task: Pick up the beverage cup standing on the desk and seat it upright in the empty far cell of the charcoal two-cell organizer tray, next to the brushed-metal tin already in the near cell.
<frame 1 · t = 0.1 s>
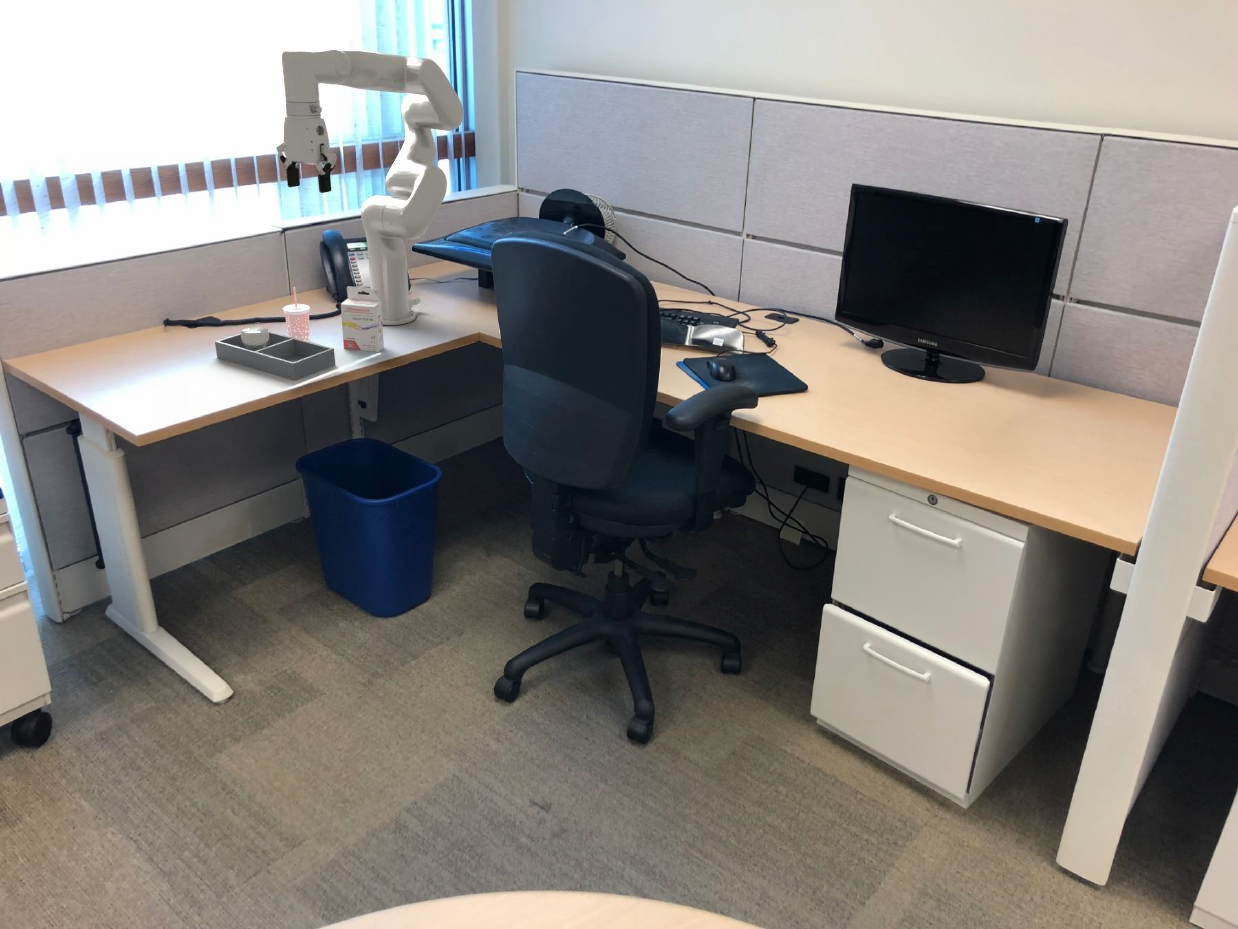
hand: (309, 189, 226), 37 cm above the table, tool pointing down, fingers open, 9 cm apart
ink cartridge box: (364, 350, 239), on the table
organizer tray: (276, 363, 228), on the table
metal tin: (257, 355, 230), point 1 cm above the table, touching organizer tray
beverage cup: (300, 344, 241), on the table
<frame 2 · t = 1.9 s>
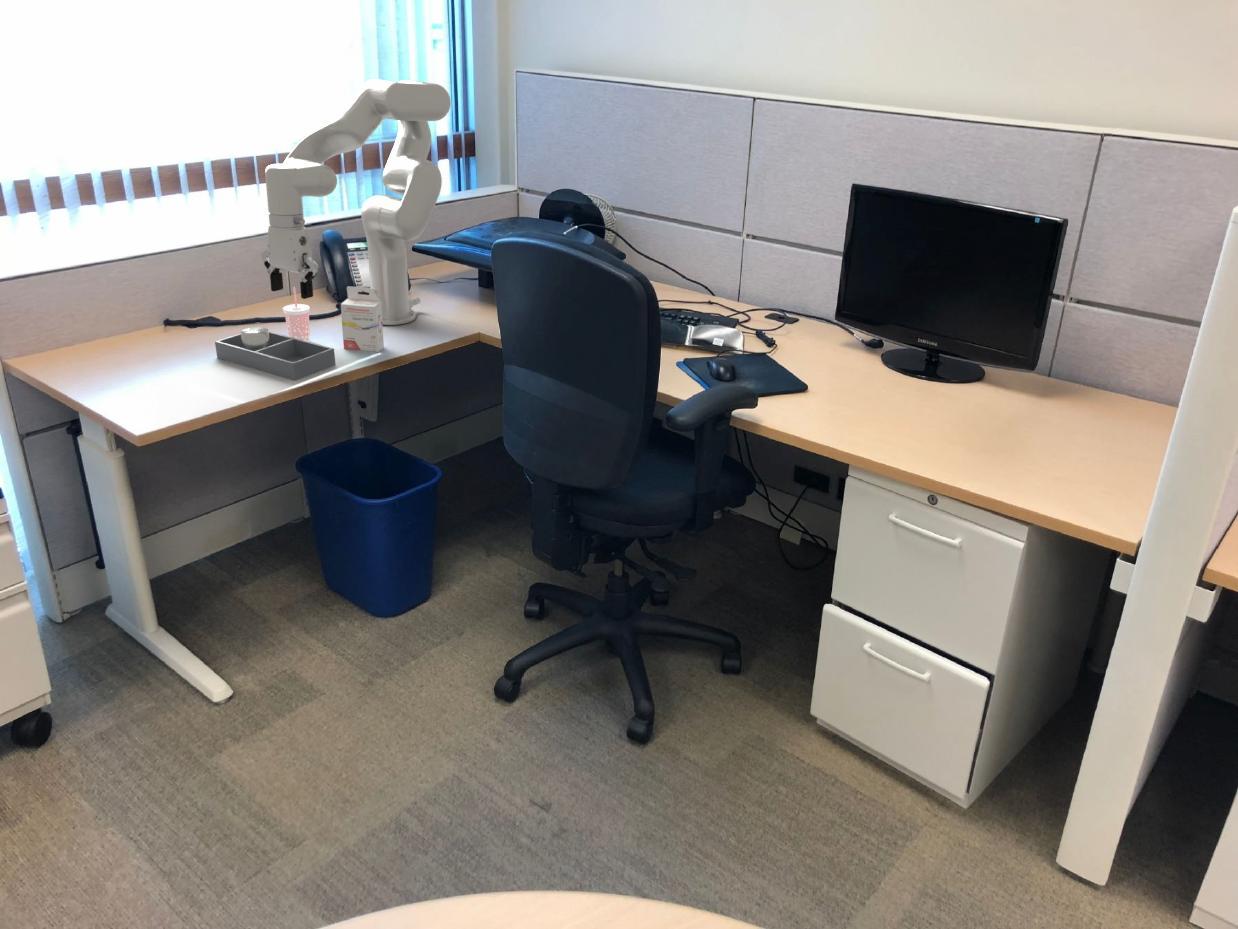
hand: (292, 293, 235), 12 cm above the table, tool pointing down, fingers open, 9 cm apart
nothing on the table moved.
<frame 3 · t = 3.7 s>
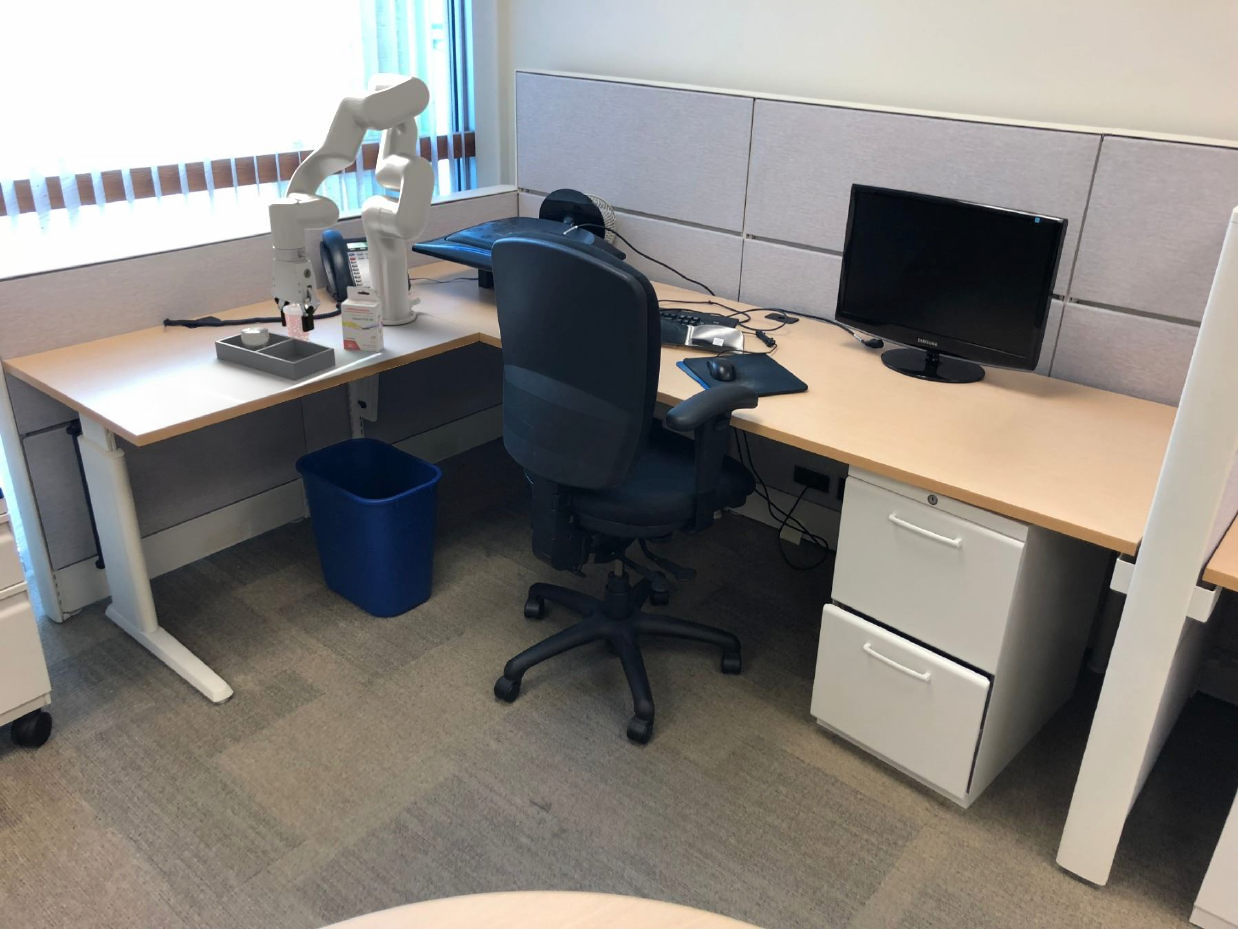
hand: (298, 327, 239), 4 cm above the table, tool pointing down, fingers closed on beverage cup, 6 cm apart
beverage cup: (299, 344, 241), on the table, touching gripper
everything else where it was.
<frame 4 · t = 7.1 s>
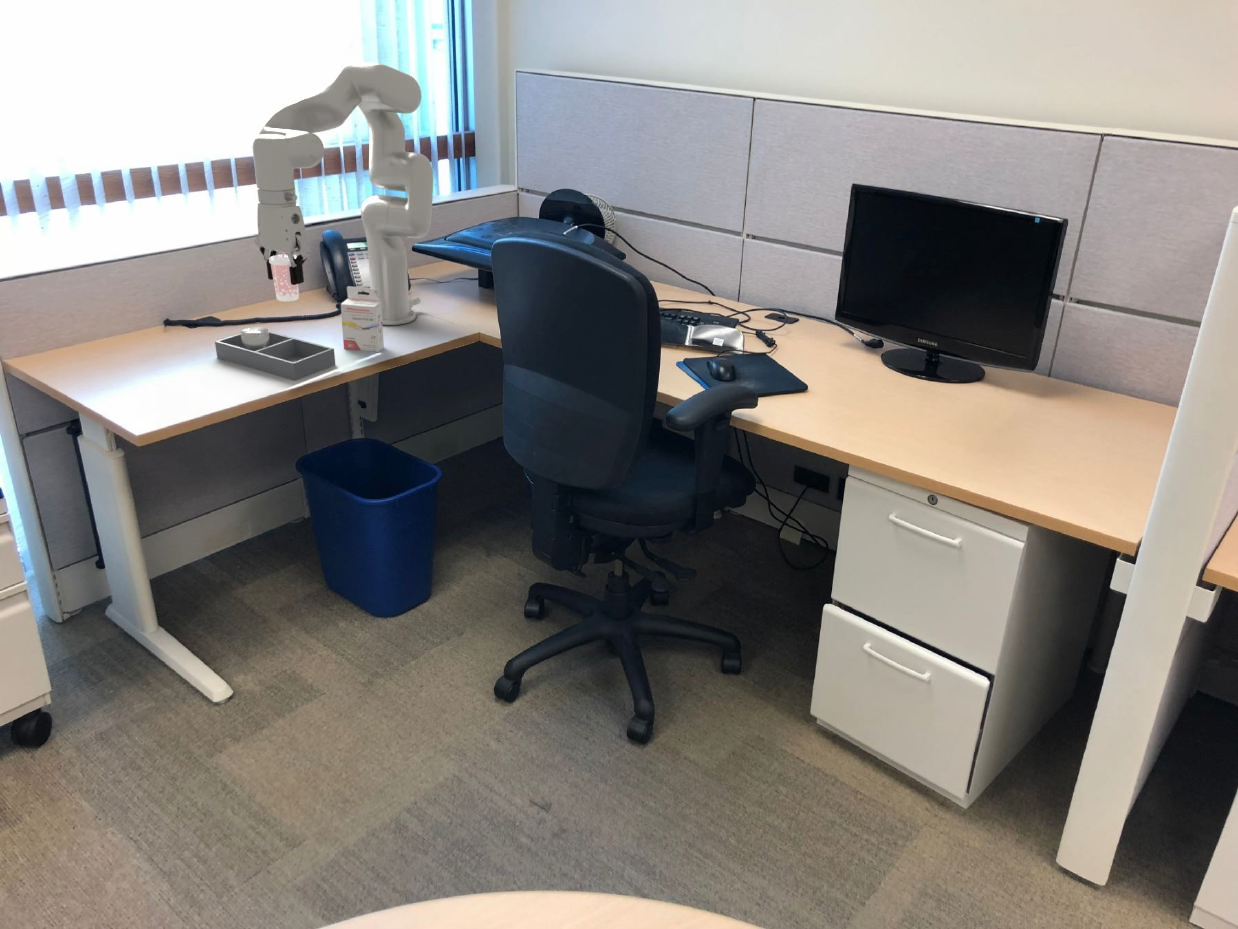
hand: (286, 280, 217), 21 cm above the table, tool pointing down, fingers closed on beverage cup, 6 cm apart
beverage cup: (287, 299, 218), point 16 cm above the table, touching gripper
everything else where it was.
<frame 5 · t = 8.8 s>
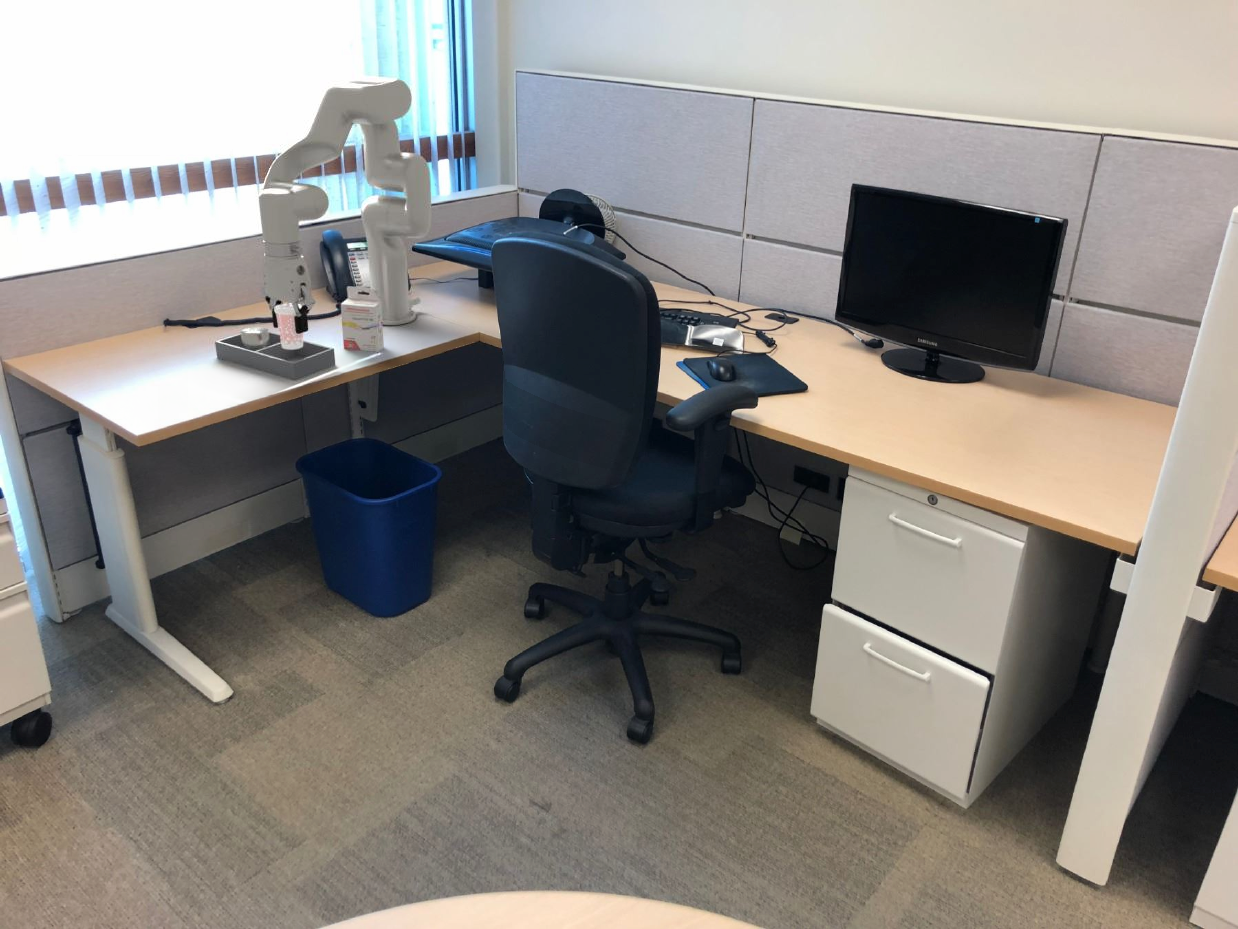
hand: (290, 328, 221), 10 cm above the table, tool pointing down, fingers closed on beverage cup, 6 cm apart
beverage cup: (292, 347, 223), point 5 cm above the table, touching gripper
everything else where it was.
when the fingers open (6 cm above the table, at t = 10.5 s): beverage cup drops 1 cm, resting on organizer tray.
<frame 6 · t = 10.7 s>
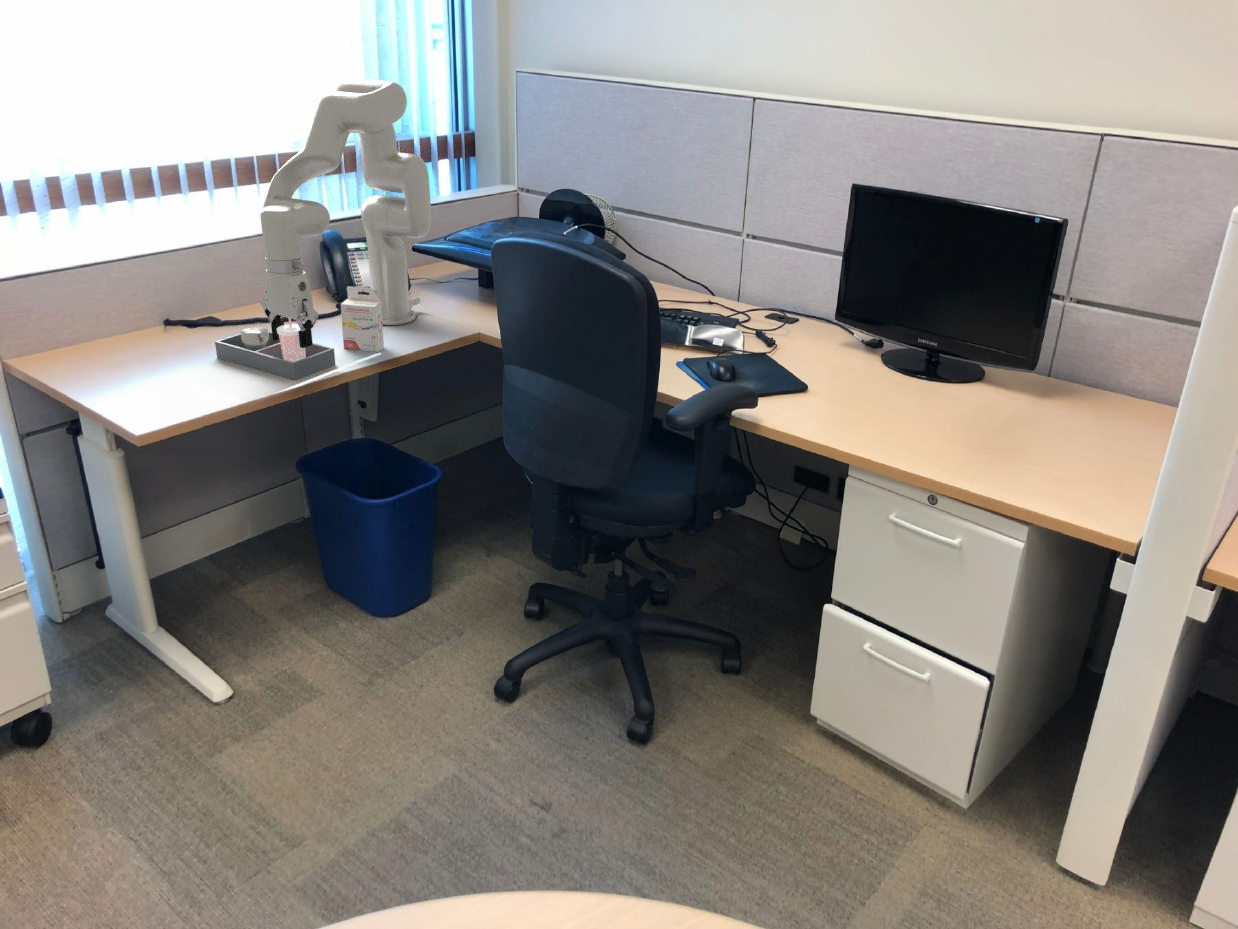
hand: (292, 342, 223), 6 cm above the table, tool pointing down, fingers open, 7 cm apart
beverage cup: (295, 367, 225), resting on organizer tray
everything else where it was.
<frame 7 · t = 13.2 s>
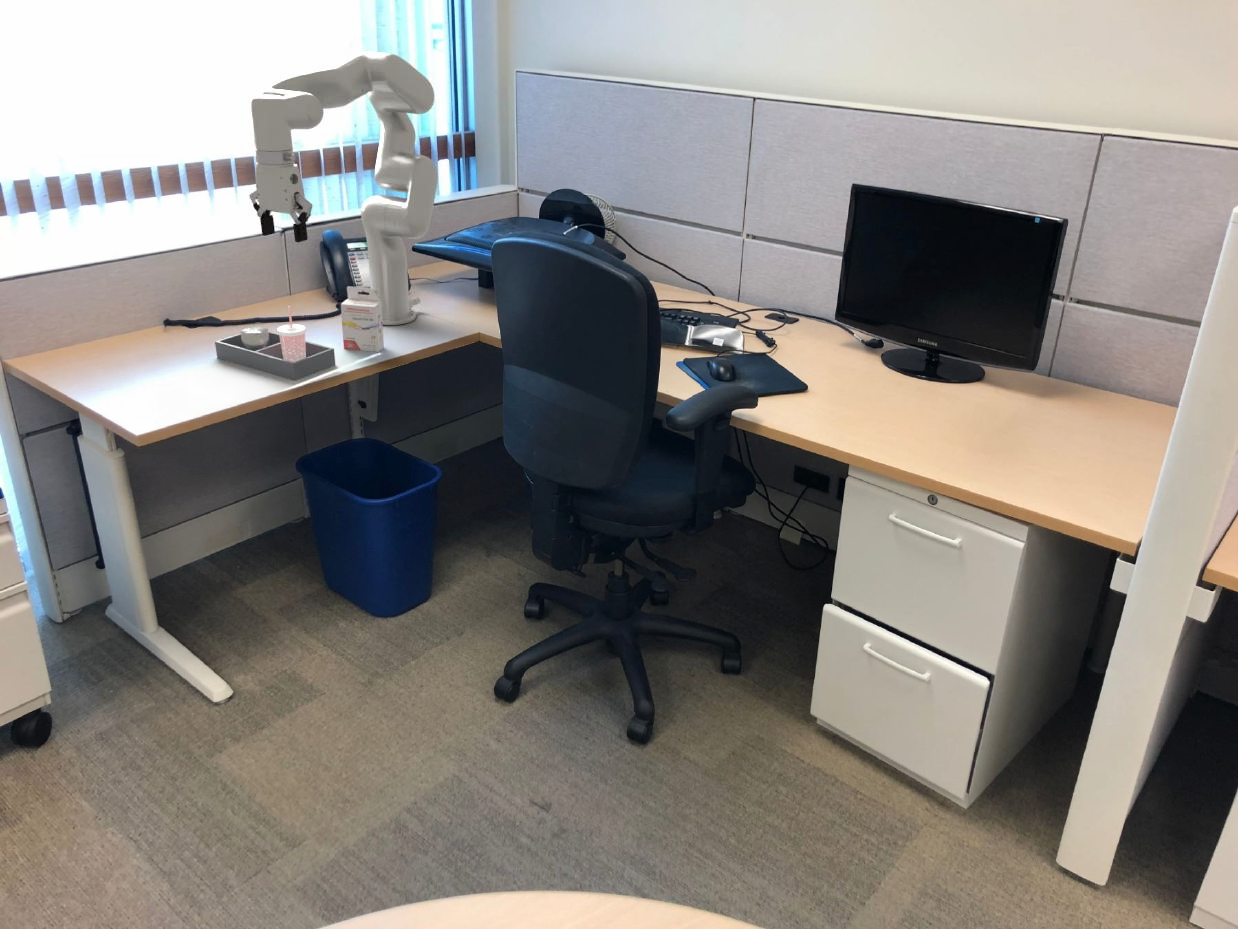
hand: (285, 237, 219), 28 cm above the table, tool pointing down, fingers open, 9 cm apart
nothing on the table moved.
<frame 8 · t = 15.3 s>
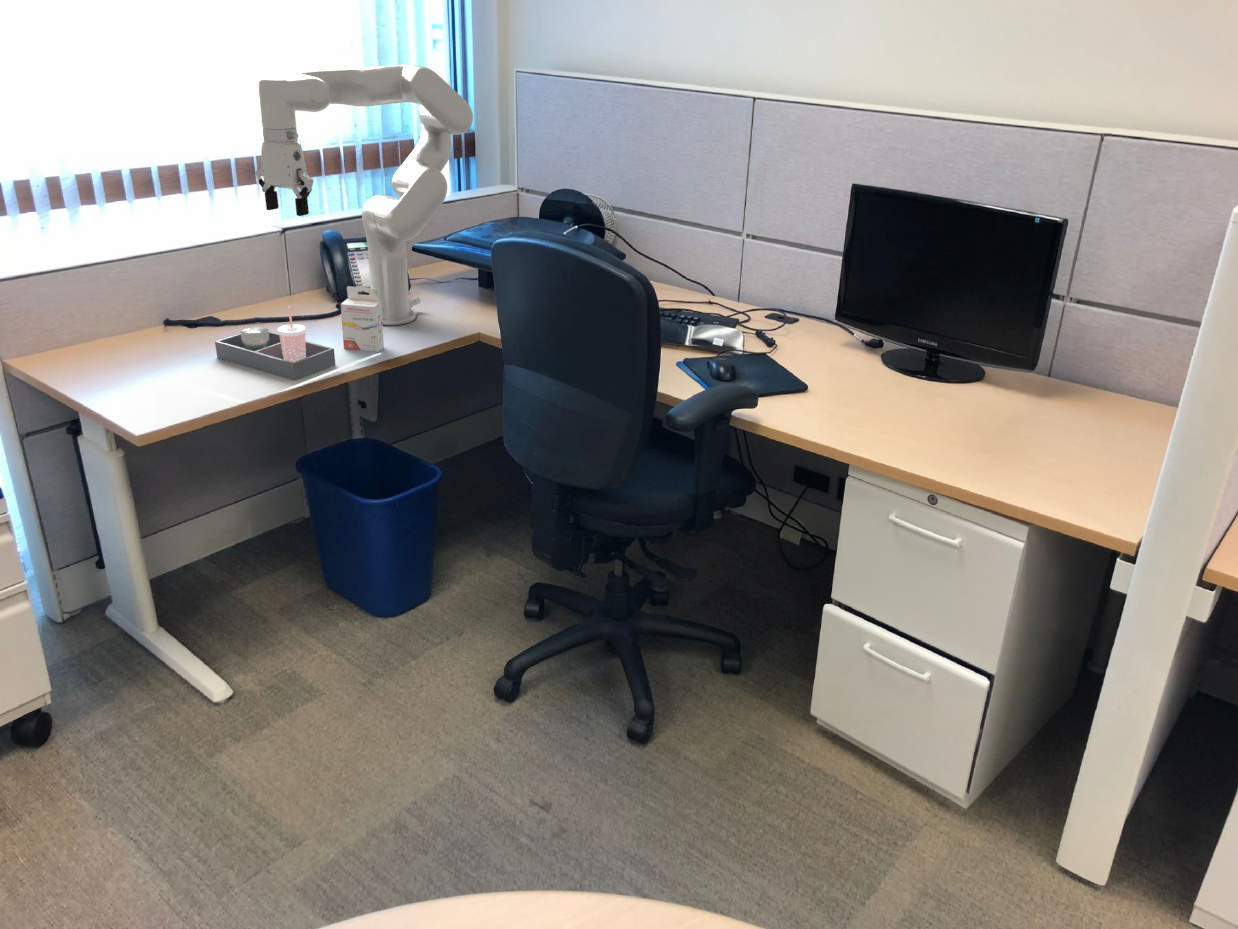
hand: (287, 212, 233), 30 cm above the table, tool pointing down, fingers open, 9 cm apart
nothing on the table moved.
at the end: beverage cup inside the target area on the organizer tray (0.2 cm from its centre), point 0.4 cm above the organizer tray's base; beverage cup tilted 0°; the gripper is holding nothing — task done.
